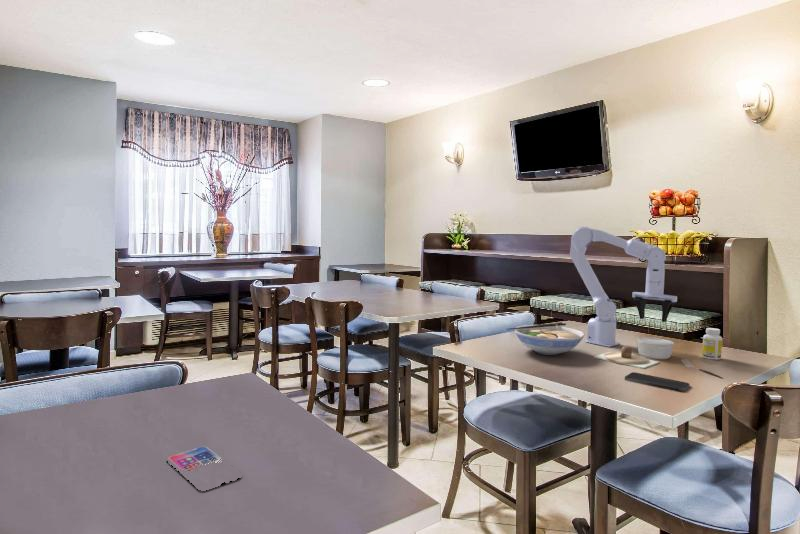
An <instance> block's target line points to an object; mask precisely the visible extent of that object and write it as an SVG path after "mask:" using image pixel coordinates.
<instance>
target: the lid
mask: <svg viewBox="0 0 800 534" xmlns="http://www.w3.org/2000/svg"><path fill="white" fill-rule="evenodd" d="M632 351H633V348H632V347H631V346H625V345H624V346H621V352H619V351H617V352H616V351H615V352H614V351H610V352H611V353H607V352H605V353H606V354H605V358H606V359H608V360H610V361H609V362H611V361H613V362H612V363H615V362H618V363H617V364H620V363H623V364H622V365H624V364H646V363H648V362H649V360H650V358H647V357H644V356H641V355H640V354H636V353H633V352H632Z"/></svg>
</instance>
